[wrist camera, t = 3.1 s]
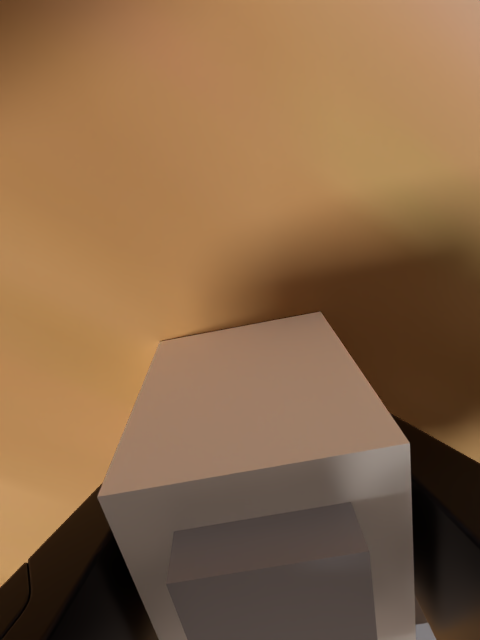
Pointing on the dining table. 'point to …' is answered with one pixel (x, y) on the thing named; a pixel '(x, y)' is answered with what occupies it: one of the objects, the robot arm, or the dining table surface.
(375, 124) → the dining table surface
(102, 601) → the robot arm
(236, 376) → the cube with square boss
